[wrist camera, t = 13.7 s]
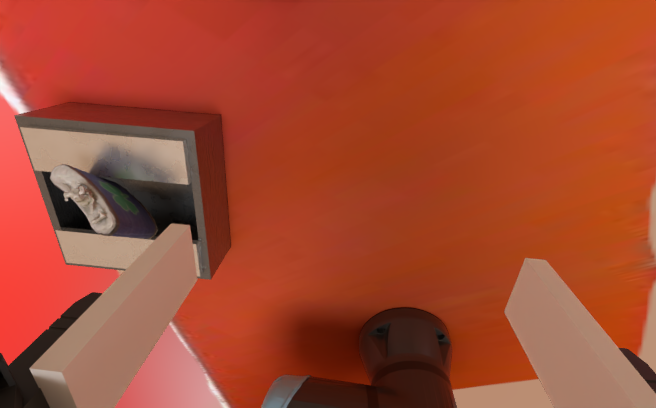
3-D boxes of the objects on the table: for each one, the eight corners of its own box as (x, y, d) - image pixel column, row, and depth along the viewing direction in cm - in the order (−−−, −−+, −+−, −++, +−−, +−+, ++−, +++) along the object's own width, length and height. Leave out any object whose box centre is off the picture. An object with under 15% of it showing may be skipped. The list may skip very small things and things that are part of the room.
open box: (230, 246, 53) (208, 283, 45) (104, 233, 54) (61, 268, 46) (221, 114, 44) (191, 132, 36) (69, 102, 44) (7, 117, 37)
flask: (97, 191, 43) (28, 169, 32) (116, 175, 43) (54, 149, 33) (145, 244, 42) (91, 240, 32) (164, 228, 43) (117, 218, 32)
